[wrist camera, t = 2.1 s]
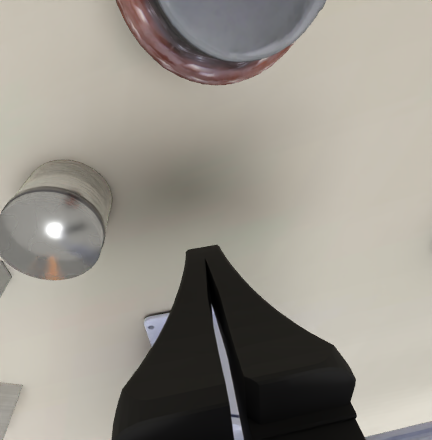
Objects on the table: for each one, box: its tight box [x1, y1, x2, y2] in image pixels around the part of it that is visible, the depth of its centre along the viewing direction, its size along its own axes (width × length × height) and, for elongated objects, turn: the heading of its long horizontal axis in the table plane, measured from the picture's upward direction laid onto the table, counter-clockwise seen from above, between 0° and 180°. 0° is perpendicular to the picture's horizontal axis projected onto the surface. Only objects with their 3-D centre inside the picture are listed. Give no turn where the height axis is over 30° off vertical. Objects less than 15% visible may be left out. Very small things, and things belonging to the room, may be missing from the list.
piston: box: [0, 160, 112, 280], centre depth 18 cm, size 5×5×5 cm
